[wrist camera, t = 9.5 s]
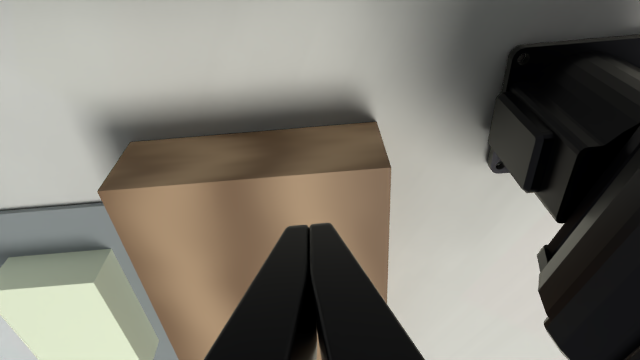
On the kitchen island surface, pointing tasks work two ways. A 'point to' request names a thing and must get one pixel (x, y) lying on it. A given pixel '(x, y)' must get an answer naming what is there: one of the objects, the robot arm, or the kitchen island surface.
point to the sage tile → (75, 307)
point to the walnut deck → (242, 214)
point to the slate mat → (75, 246)
